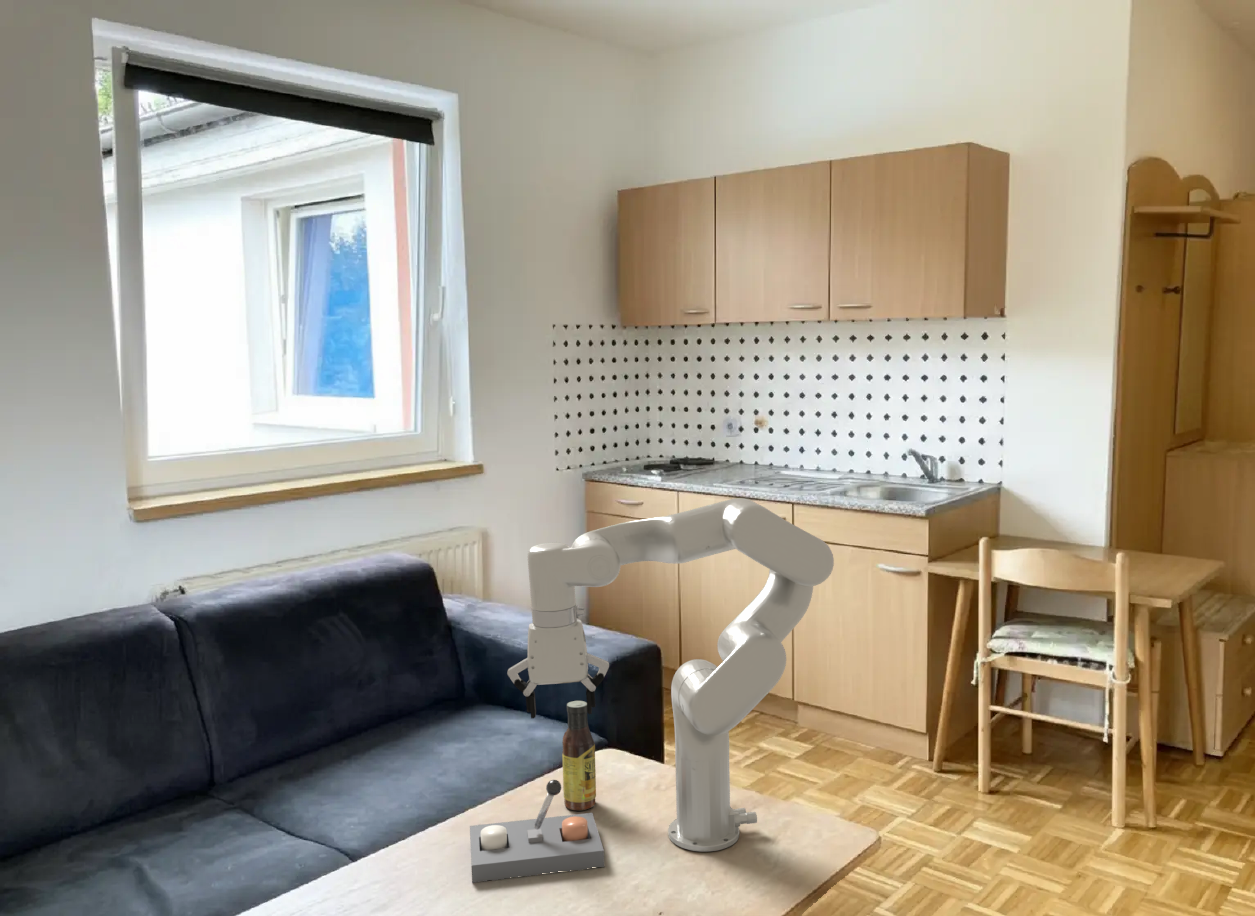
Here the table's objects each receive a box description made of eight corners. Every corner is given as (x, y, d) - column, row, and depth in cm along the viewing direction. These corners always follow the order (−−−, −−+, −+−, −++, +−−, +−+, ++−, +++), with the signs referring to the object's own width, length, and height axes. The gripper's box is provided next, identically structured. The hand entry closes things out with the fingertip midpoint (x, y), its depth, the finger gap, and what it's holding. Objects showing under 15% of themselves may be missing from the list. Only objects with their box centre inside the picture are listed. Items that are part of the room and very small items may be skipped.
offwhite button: (506, 843, 175) (505, 823, 175) (508, 855, 171) (507, 835, 170) (481, 845, 174) (480, 826, 174) (481, 858, 170) (481, 838, 170)
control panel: (592, 828, 183) (592, 808, 182) (604, 867, 169) (603, 845, 168) (470, 841, 179) (469, 821, 178) (472, 882, 165) (471, 860, 165)
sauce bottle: (592, 813, 188) (588, 711, 186) (560, 811, 190) (556, 709, 187) (600, 798, 195) (596, 699, 192) (568, 796, 196) (565, 697, 194)
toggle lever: (542, 827, 175) (562, 779, 175) (543, 835, 172) (564, 786, 172) (528, 823, 174) (549, 775, 174) (529, 830, 172) (550, 781, 172)
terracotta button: (586, 834, 177) (585, 815, 177) (589, 846, 173) (588, 826, 173) (561, 836, 177) (560, 818, 176) (564, 849, 172) (563, 829, 172)
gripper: (605, 606, 174) (611, 701, 176) (505, 614, 173) (512, 709, 175) (605, 618, 166) (612, 717, 168) (501, 626, 166) (509, 725, 168)
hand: (561, 713), depth 172 cm, fingers open, 9 cm apart
